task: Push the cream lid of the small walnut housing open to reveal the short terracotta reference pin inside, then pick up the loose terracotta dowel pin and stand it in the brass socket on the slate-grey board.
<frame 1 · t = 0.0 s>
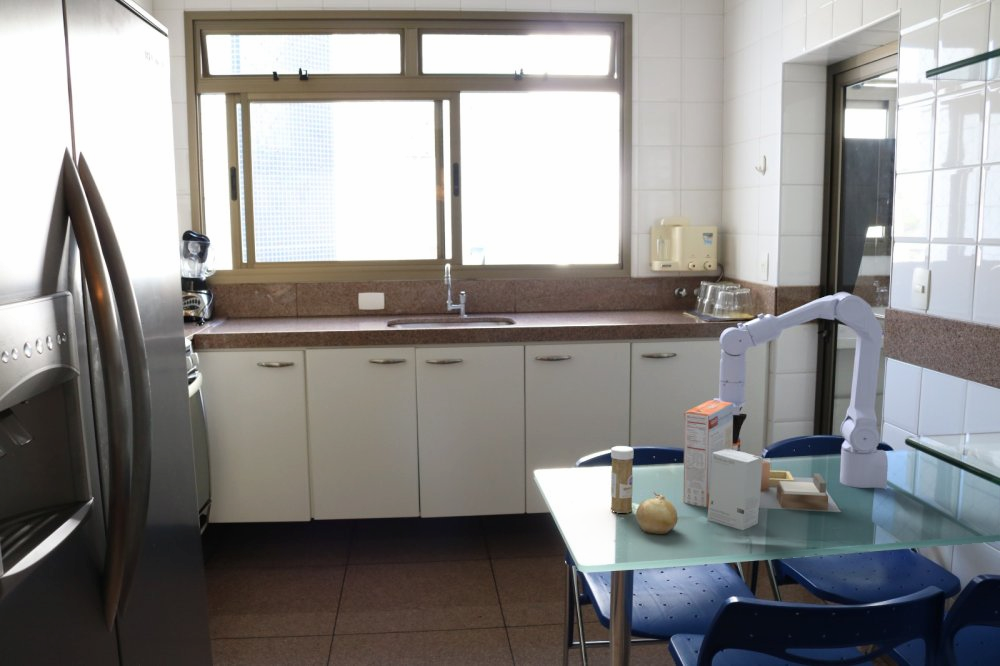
hand: (730, 439, 194), 10 cm above the table, tool pointing down, fingers open, 7 cm apart
cracker box: (706, 502, 182), on the table
onion: (656, 531, 165), on the table
dowel pin: (760, 488, 187), point 1 cm above the table, touching board
sprinkles bottle: (621, 511, 176), on the table
supplement bottle: (726, 474, 202), on the table, touching gripper
housing: (801, 503, 177), resting on board
lid: (802, 483, 176), point 6 cm above the table, slide at 0.0 cm
skincare box: (733, 528, 167), on the table
board: (789, 497, 185), on the table
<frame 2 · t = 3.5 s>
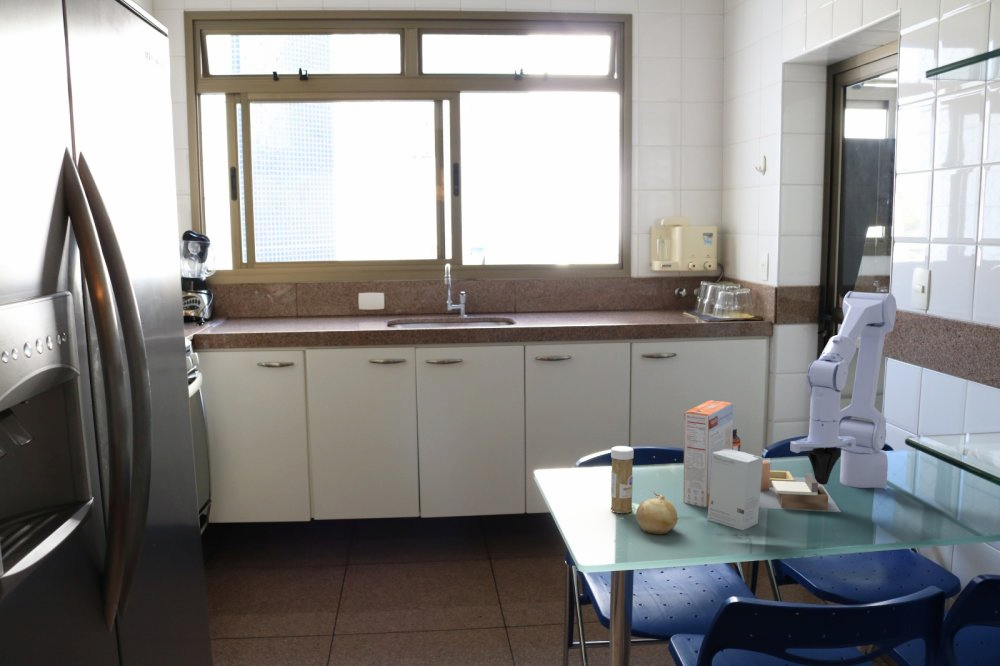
hand: (821, 483, 176), 6 cm above the table, tool pointing down, fingers closed
supplement bottle: (726, 475, 202), on the table
lid: (794, 483, 177), point 6 cm above the table, slide at 1.6 cm, touching gripper
everything else where it was.
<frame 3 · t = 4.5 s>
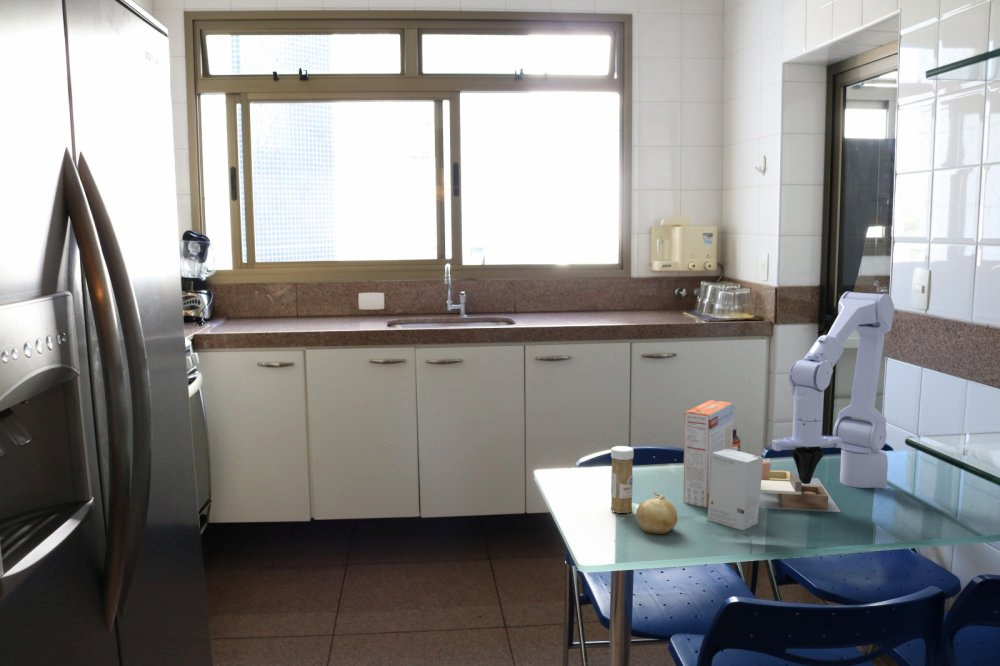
hand: (804, 482, 176), 6 cm above the table, tool pointing down, fingers closed
lid: (778, 482, 177), point 6 cm above the table, slide at 4.8 cm, touching gripper
everything else where it was.
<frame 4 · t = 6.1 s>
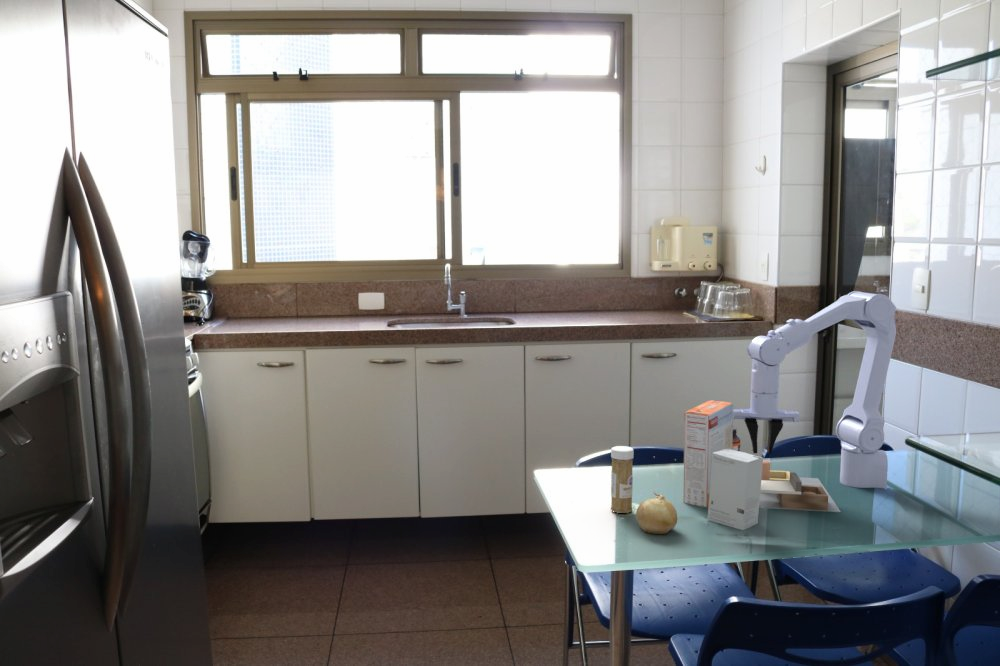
hand: (762, 452, 186), 9 cm above the table, tool pointing down, fingers closed
lid: (778, 482, 177), point 6 cm above the table, slide at 4.8 cm
everything else where it was.
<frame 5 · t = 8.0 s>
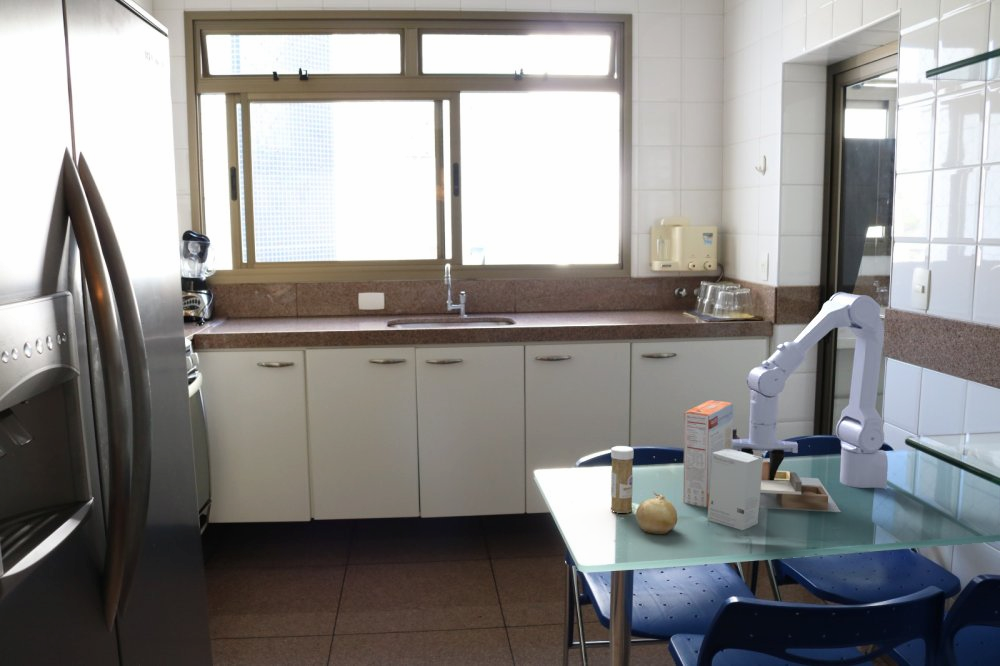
hand: (760, 482, 187), 3 cm above the table, tool pointing down, fingers closed on dowel pin, 4 cm apart
dowel pin: (760, 488, 187), point 1 cm above the table, touching board, gripper
everything else where it was.
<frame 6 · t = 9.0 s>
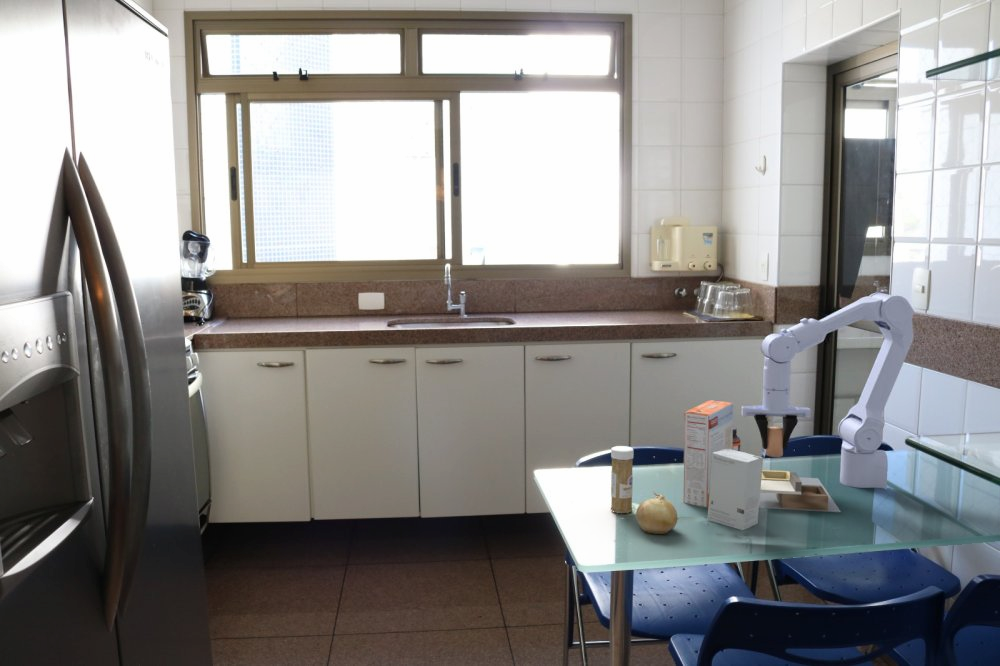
hand: (774, 448, 190), 9 cm above the table, tool pointing down, fingers closed on dowel pin, 4 cm apart
dowel pin: (774, 454, 190), point 8 cm above the table, touching gripper
everything else where it was.
when the fingers open (4 cm above the table, at t = 10.5 s): dowel pin drops 1 cm, resting on board.
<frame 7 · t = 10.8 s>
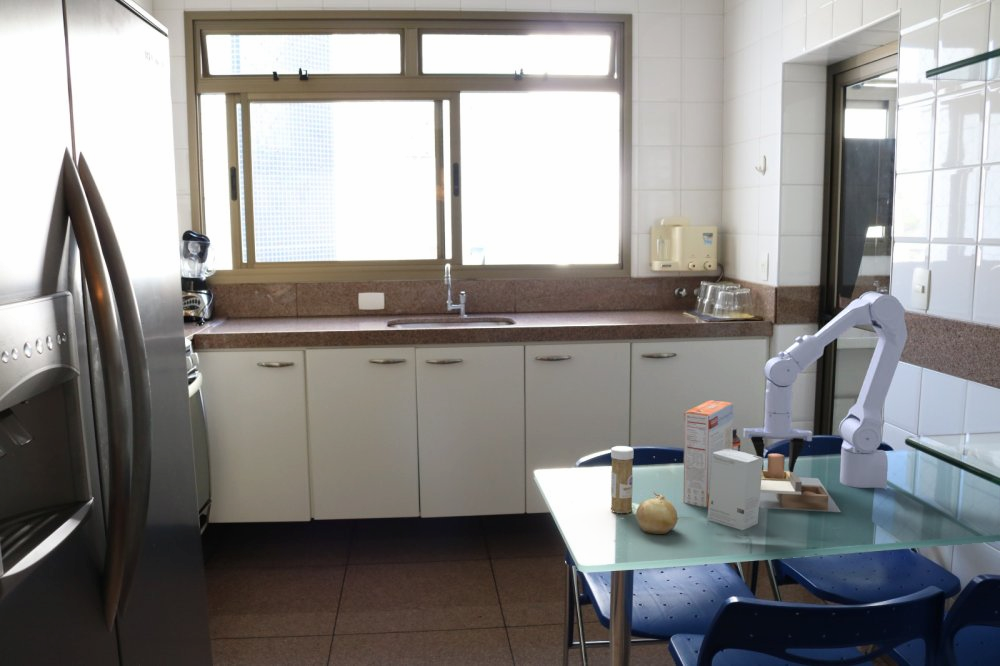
hand: (775, 470, 192), 4 cm above the table, tool pointing down, fingers open, 6 cm apart
dowel pin: (775, 481, 192), point 1 cm above the table, touching board
everything else where it was.
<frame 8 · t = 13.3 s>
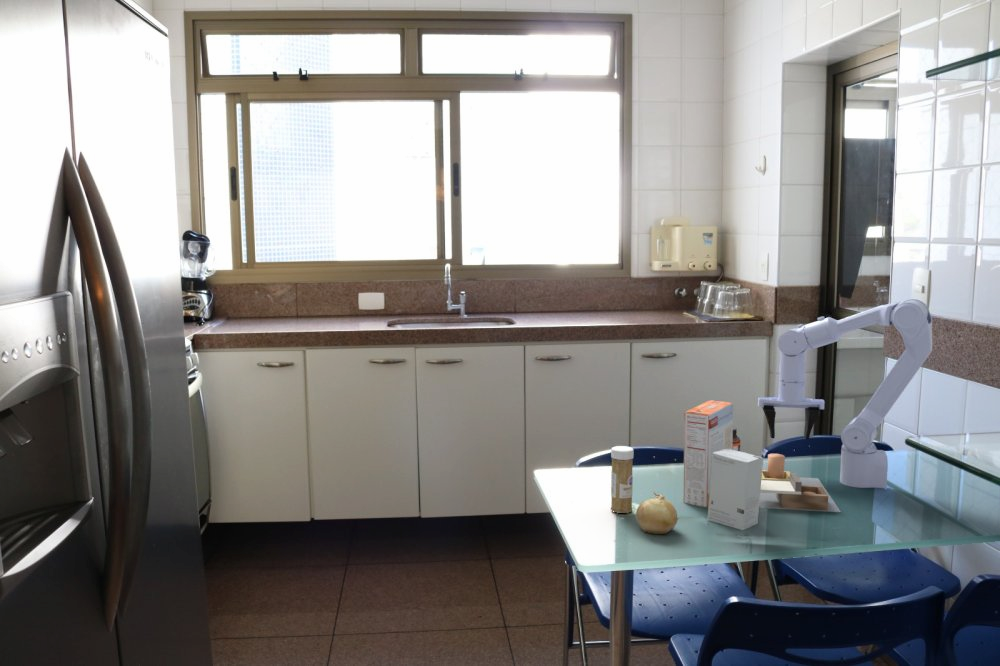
hand: (789, 437, 198), 9 cm above the table, tool pointing down, fingers open, 7 cm apart
nothing on the table moved.
at the end: lid slide at 4.8 cm; dowel pin 0.1 cm from the target spot, point 1.2 cm above the table; dowel pin tilted 0° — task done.
